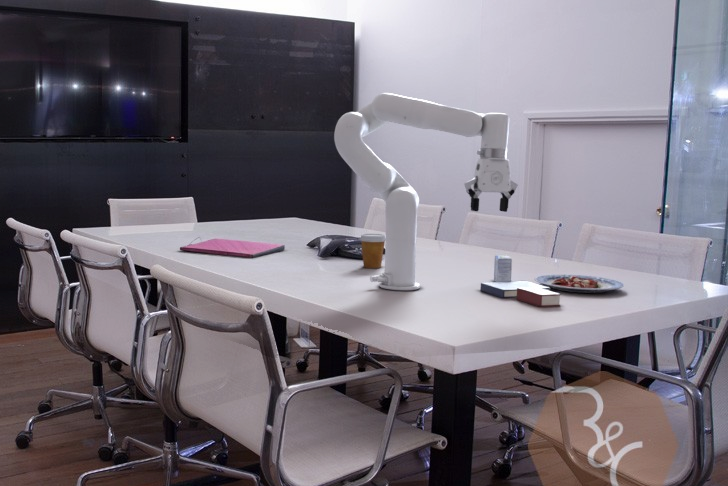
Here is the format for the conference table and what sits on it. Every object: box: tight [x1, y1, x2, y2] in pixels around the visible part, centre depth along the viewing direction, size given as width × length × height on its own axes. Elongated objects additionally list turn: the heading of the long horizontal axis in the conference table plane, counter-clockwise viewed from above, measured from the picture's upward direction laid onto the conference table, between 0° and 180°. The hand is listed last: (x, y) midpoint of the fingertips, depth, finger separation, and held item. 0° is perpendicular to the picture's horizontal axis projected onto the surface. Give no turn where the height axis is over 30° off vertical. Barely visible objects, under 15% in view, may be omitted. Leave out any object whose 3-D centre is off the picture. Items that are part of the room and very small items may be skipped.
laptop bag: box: [179, 236, 286, 259], centre depth 327 cm, size 40×4×27 cm
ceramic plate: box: [534, 274, 625, 294], centre depth 243 cm, size 26×26×3 cm
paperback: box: [516, 287, 561, 308], centre depth 220 cm, size 6×11×4 cm, turn 14°
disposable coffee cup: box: [359, 233, 386, 269], centre depth 283 cm, size 10×10×12 cm
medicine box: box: [493, 254, 513, 282], centre depth 252 cm, size 8×4×9 cm, turn 168°
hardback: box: [480, 280, 551, 299], centre depth 234 cm, size 16×12×2 cm
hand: (489, 211), depth 233 cm, fingers open, 9 cm apart
